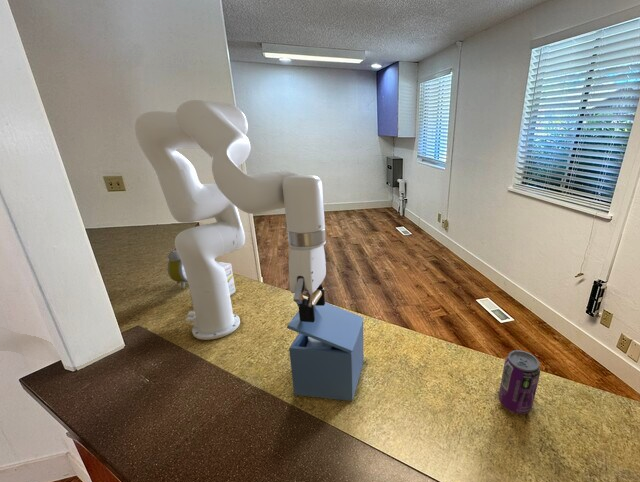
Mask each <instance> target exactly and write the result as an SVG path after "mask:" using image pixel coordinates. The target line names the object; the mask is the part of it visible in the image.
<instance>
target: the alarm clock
mask: <svg viewBox="0 0 640 482" xmlns="http://www.w3.org/2000/svg"><path fill="white" fill-rule="evenodd" d="M167 258H168V262H167V269H166V270H167V273H168V276H169V278H170V279H171V280H172V281H174V282H176V283H177V284H180V285H181V286H180V287H181V290H184V289H185V286H186V284H187V283H188V281H187V277H186V273H185V270H184V267H183V264H182V261H181V259H180V257H179V255H178V253H177V250H176V249H172V250H171V251H170V252H169V253H168V257H167Z"/></svg>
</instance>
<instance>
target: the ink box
mask: <svg viewBox="0 0 640 482" xmlns="http://www.w3.org/2000/svg"><path fill="white" fill-rule="evenodd" d="M215 262H216V263H218V264H219V265H221V266H222V267H223V268H224V270H225V272H226V276H227V282H228V287H229V293H230V296H231V295H234V293H236V286H235V279H234V274H233V267H232V263H230V262H223V261H215Z"/></svg>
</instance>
